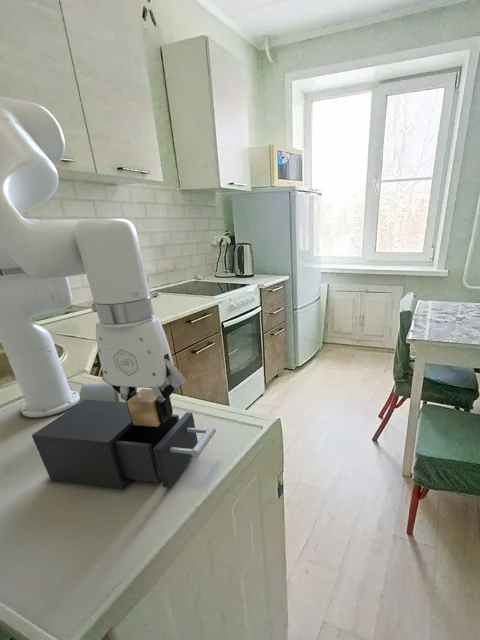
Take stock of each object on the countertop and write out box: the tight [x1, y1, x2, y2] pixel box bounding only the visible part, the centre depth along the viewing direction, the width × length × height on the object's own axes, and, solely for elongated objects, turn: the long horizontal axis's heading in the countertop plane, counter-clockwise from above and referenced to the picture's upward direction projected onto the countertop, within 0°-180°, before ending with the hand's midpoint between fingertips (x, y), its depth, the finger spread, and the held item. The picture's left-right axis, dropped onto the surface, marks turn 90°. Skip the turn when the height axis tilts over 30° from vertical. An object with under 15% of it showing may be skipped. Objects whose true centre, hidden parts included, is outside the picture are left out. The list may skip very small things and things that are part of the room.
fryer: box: [31, 400, 133, 490], centre depth 64 cm, size 15×13×10 cm
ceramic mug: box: [79, 382, 126, 403], centre depth 84 cm, size 11×8×8 cm
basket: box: [112, 411, 216, 489], centre depth 62 cm, size 19×11×8 cm, turn 78°
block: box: [127, 388, 163, 427], centre depth 59 cm, size 4×4×4 cm
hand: (152, 417), depth 60 cm, fingers closed on block, 4 cm apart
